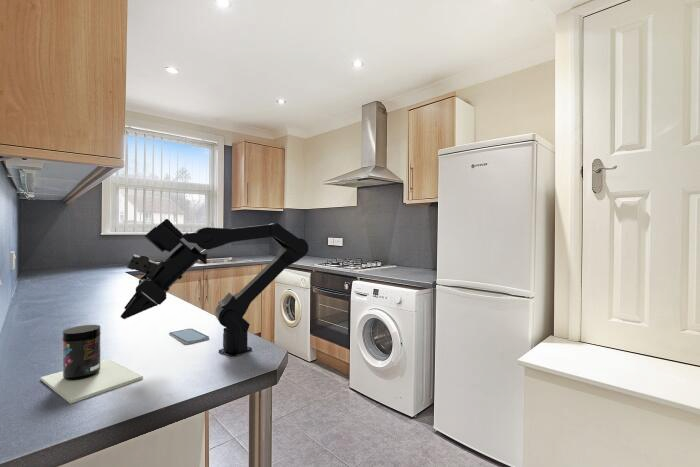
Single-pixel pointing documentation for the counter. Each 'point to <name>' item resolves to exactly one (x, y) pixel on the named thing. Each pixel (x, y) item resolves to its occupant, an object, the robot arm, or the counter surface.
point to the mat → (92, 381)
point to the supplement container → (81, 352)
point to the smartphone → (189, 336)
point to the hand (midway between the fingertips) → (124, 313)
